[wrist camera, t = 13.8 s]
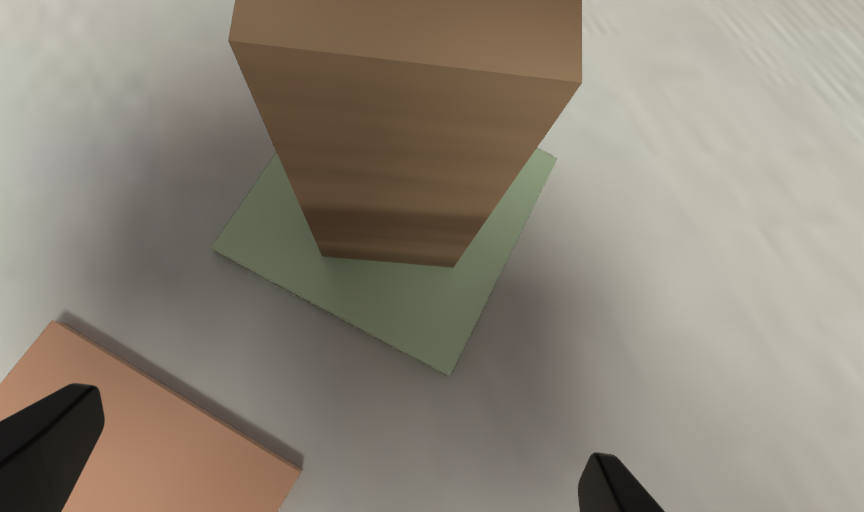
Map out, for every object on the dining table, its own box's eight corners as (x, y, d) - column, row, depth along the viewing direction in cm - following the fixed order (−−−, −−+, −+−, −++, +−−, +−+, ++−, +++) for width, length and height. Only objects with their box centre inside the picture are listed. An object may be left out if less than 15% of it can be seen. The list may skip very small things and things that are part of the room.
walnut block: (453, 267, 20) (582, 82, 8) (321, 256, 20) (228, 40, 7) (460, 147, 21) (581, -185, 9) (336, 134, 21) (277, -235, 8)
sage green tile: (547, 170, 23) (557, 158, 22) (446, 377, 20) (449, 375, 19) (347, 67, 23) (346, 50, 22) (220, 256, 21) (210, 247, 19)
